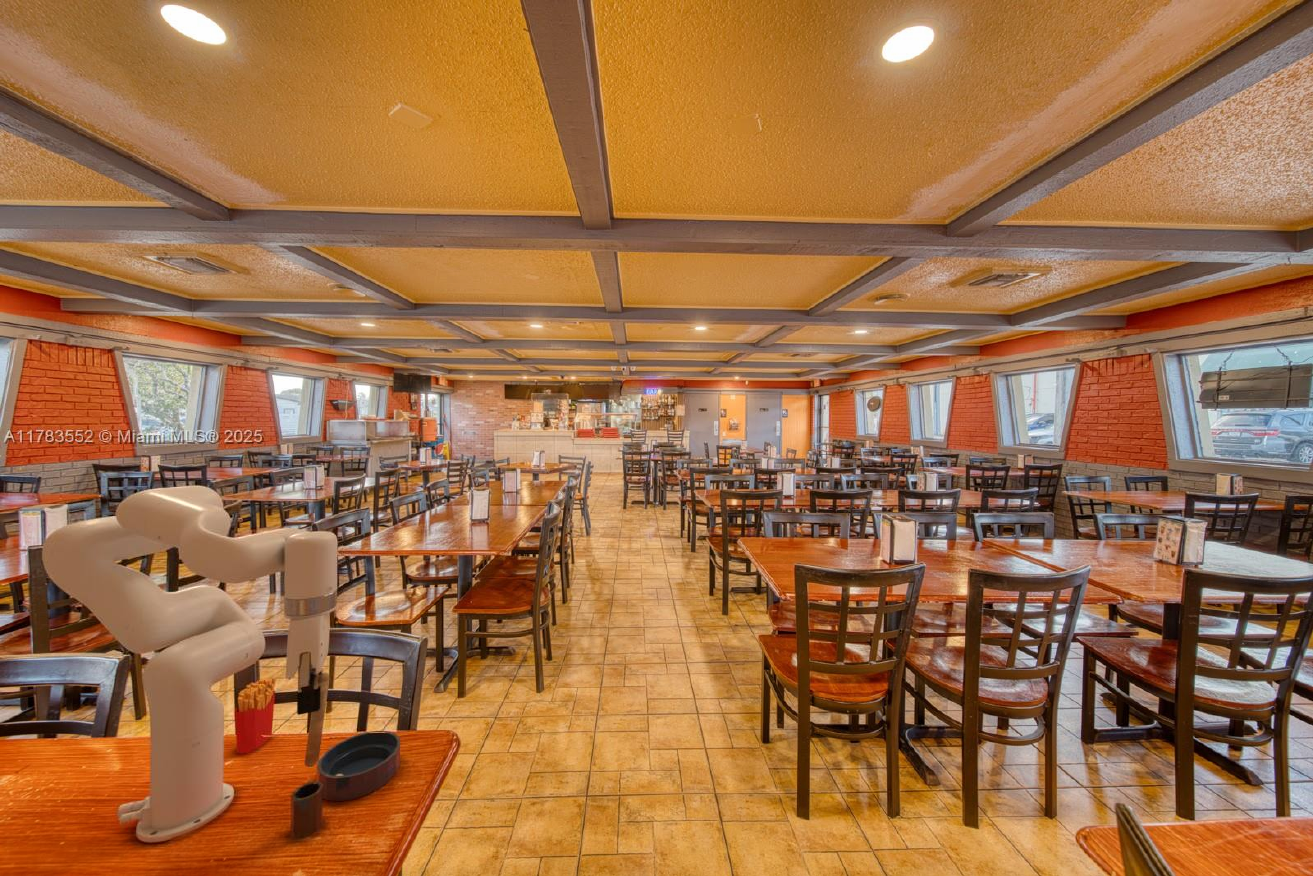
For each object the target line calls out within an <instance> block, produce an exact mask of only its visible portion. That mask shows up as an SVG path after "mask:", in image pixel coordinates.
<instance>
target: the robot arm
mask: <svg viewBox="0 0 1313 876" xmlns="http://www.w3.org/2000/svg"><path fill="white" fill-rule="evenodd" d="M231 524H232V521H231V516H230V514H229V512H227V511H226V510H225V509H224V502H223V499H222V498H221V496H220V495H219V493H218V492H217V491H215V490H214V489H213V488H210V487H207V486H204V485H186V486H185V485H184V486H174V487H161V488H160V487H159V488H151V489H150V488H149V489H145V490H142V491H138V492H135V493H133V494H130V495H129V496H127V497H126V498H124V499H123V500H122V501H121V502H120V503H119V504H118V505H117V507H116V509H115V515H113V516H105V517H98V518H91V519H85V520H81V521H77V522H73V523H70V524H66V525H64V526H62V527H60V528H58V529H56V530H54V531H53V532H52V533H50V534H49V535H48V537H46V539H45V540H44V542H43V546H42V550H41V559H42V563H43V567H44V570H45V572H46V574H47V576H48V577H49V579H50V580H51V581H52V582H53V583H54V584H55V585H56V586H57V587H58V589H60V590H61V591H63V592H64V593H66V594H67V595H69V597H72V598H74V599H75V600H77V601H78V602H79V603H81V604H82V605H83V606H84V607H86V608H87V609H88V610H89V611H90V613H92V614H93V616H95V617H96V619H97V620H98V621H99V622H100V623H101V625H103V627H105V629H106V630H107V631H108V632H109V633H110V634H111V635H112V636H113V637H114V639H115V640H116V641H117V642H118V643H119V644H120V645H121V646H122V647H123V648H125V649H126V650H128V651H129V652H131V653H133V654H137V655H143V654H148V653H152V652H155V651H158V650H161V649H162V650H161V651H159V652H158V653H156V654H155V655H154V656H153V657H152V658H151V659H150V660H149V661H147V663H146V664H145V667H144V668H143V671H142V677H141V679H142V686H143V690H144V693H145V696H146V697H145V698H146V700H147V704H148V712H149V739H150V740H149V741H150V748H149V751H150V752H149V753H150V756H149V757H150V758H149V759H150V760H149V761H150V763H149V796H146V797H145V798H144V799H142V800H138V801H132V802H128V803H123V804H120V806H119V807H118V808H117V811H116V812H117V813H116V818H117V819H119V825H123V824H127V823H131V822H134V821H137V820H138V823H137V825H136V827H135V836H136V838H137V839H138V840H139V841H141V842H143V843H161V842H166V841H171V840H172V839H173V838H177V837H180V836H182V835H185V834H188V833H190V832H192V831H195V830H197V829H199V828H200V827H202V826H204V825H206V824H208V823H209V822H211V821H212V820H214V819H216V817H218V816H219V815H221V814H222V813H223V812H224V811H225V810H226V809H227V808H228V807H229V806H230V805H231V804H232V802H233V800H234V797H235V789H234V787H233V786H232V785H231V784H228V783H225V782H224V765H225V764H224V763H225V762H224V759H225V757H224V755H225V708H224V704H223V702H222V700H221V698H219V697H218V696H217V695H216V694H215V693H213V692H212V689H211V688H212V687H213V686H214V685H216V684H217V683H219V682H221V681H222V680H224V679H226V678H229V677H231V676H233V675H235V674H237V673H239V672H241V671H243V670H245V669H247V668H249V667H250V666H252V665H254V664H255V663H256V662H257V661H258V660H260V658H261V657H262V656H263V654H264V652H265V650H266V639H265V635H264V633H263V631H262V630H261V628H260V626H259V625H258V624H257V623H256V622H255V621H254V619H252V618H251V617H250V615H248V614H247V613H246V611H245V610H244V609H243V608H242V607H241V606H240V605H239V604H238V603H237V602H236V601H235V600H234V599H233V598H232V597H231V596H230V594H228V592H226V591H224V589H223V590H222V588H219V587H217V586H213V585H207V584H205V585H195V586H192V587H188V588H184V589H180V590H177V591H166V590H164V589H162V588H161V587H160V586H159V585H158V584H157V583H156V582H155V581H154V579H152V578H151V576H149V575H147V574H146V573H144V572H141V571H139V570H137V569H135V568H131V567H128V566H125V565H121V564H119V563H116V562H117V561H124V560H128V559H132V558H137V557H142V556H148V555H152V554H157V553H162V552H165V551H168V550H170V549H173V548H176V549H177V550H178V555H179V558H180V559H181V562H182V563H183V565H184V566H185V567H186V568H187V569H188V571H189V572H191V573H193V574H195V575H197V576H200V577H203V578H206V579H209V580H212V581H215V582H220V583H223V584H242V583H246V582H250V581H254V580H257V579H261V578H263V577H267V576H270V575H273V574H277V573H281V572H284V574H283V575H284V580H283V582H284V584H283V590H284V591H283V597H284V598H283V599H284V600H283V617H284V618H285V619H287V620H289V625H288V631H287V632H288V633H287V643H286V645H287V646H286V662H285V679H286V680H287V681H290V680H291V679H293V678H294V677H295V675H296V674H297V693H296V705H297V706H296V714H297V715H298V716H300V715H305V714H309V713H310V714H311V712H315V711H318V710H319V709H320V693H321V686H318V685H319V675H320V674H322V673H324V669H323V668H324V666H325V664H326V661H327V658H328V654H329V647H330V629H331V628H330V627H331V625H330V624H331V623H330V621H331V619H330V616H331V615H330V614H331V613H332V612H334V611H336V610H337V609H338V537H337V535H336V534H335V533H333V532H332V531H324V530H316V531H309V530H304V529H301V528H295V527H284V528H277V529H274V530H268V531H263V532H258V533H252V534H248V535H247V534H246V535H244V536H239V537H231V536H227V535H228V534H229V531H230V528H231Z"/></svg>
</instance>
